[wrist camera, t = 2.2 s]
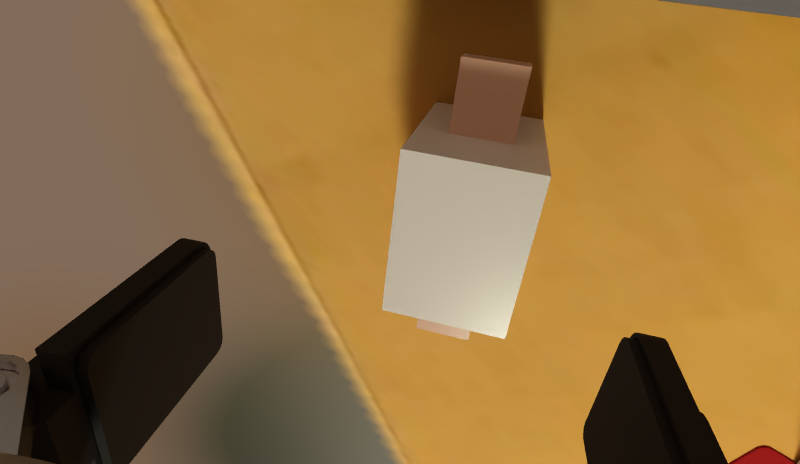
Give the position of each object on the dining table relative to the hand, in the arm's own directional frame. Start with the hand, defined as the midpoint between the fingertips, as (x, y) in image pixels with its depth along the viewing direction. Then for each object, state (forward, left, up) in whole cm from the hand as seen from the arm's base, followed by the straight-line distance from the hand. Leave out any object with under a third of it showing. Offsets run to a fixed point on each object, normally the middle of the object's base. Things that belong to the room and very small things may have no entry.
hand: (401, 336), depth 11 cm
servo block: (-1, 0, -10) cm, 10 cm away
